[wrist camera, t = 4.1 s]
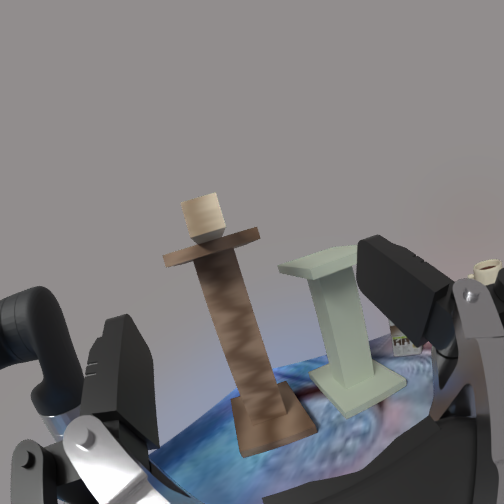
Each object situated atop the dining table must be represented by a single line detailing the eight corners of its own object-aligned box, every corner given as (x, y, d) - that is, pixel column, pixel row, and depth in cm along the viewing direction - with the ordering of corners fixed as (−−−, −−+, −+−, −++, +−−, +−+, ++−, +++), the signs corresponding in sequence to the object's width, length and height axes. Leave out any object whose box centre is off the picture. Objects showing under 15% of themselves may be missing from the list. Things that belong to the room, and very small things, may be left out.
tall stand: (242, 457, 33) (162, 255, 32) (232, 404, 51) (179, 256, 50) (317, 432, 35) (256, 226, 34) (287, 386, 52) (241, 237, 52)
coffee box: (422, 354, 44) (412, 278, 43) (393, 357, 48) (380, 284, 48) (426, 333, 51) (416, 266, 50) (401, 336, 55) (389, 271, 54)
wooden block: (190, 237, 22) (180, 202, 22) (202, 249, 50) (197, 233, 50) (225, 226, 22) (215, 192, 22) (218, 244, 50) (213, 228, 50)
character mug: (514, 314, 36) (511, 256, 36) (508, 330, 33) (507, 267, 33) (475, 315, 46) (470, 261, 46) (466, 329, 43) (461, 272, 43)
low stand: (346, 419, 35) (310, 268, 35) (309, 377, 53) (277, 265, 53) (406, 385, 37) (383, 242, 36) (358, 355, 55) (332, 247, 54)
